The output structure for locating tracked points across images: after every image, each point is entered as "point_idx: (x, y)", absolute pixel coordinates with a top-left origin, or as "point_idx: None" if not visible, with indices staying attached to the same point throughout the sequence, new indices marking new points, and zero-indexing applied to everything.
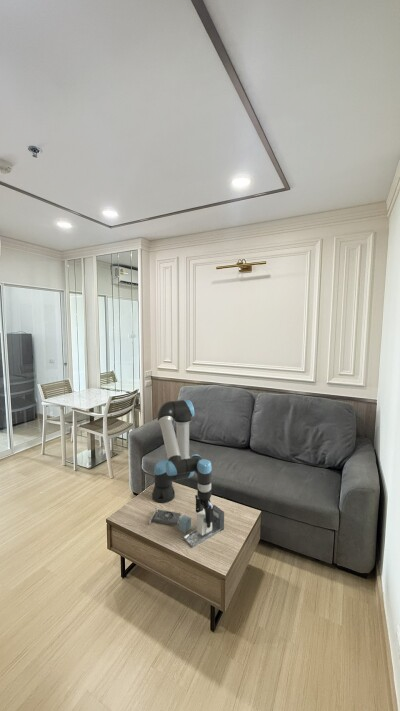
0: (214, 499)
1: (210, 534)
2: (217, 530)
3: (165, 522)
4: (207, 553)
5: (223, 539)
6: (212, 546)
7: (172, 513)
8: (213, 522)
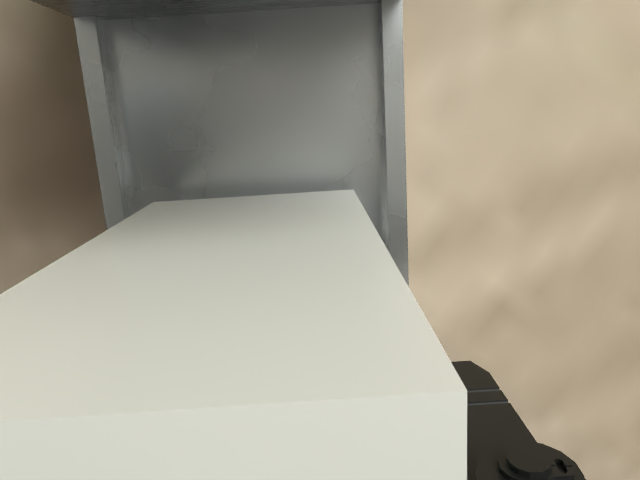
0: None
1: (402, 263)
2: (400, 72)
3: None
4: (631, 477)
5: (591, 87)
6: (581, 344)
7: None
8: (164, 5)
